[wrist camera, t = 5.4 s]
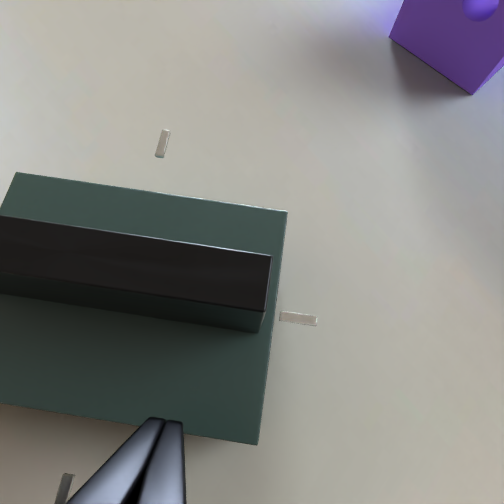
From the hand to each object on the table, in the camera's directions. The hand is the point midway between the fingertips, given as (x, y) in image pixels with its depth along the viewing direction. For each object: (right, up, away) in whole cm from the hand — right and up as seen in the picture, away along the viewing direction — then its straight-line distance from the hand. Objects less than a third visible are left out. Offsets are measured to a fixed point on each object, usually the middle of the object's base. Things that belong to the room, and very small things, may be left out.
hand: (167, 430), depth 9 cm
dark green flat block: (-3, +1, +9) cm, 9 cm away
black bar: (-3, +3, +5) cm, 6 cm away
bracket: (+18, +21, +16) cm, 32 cm away
